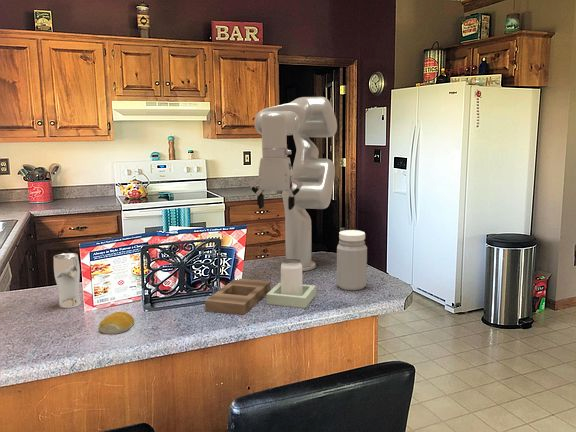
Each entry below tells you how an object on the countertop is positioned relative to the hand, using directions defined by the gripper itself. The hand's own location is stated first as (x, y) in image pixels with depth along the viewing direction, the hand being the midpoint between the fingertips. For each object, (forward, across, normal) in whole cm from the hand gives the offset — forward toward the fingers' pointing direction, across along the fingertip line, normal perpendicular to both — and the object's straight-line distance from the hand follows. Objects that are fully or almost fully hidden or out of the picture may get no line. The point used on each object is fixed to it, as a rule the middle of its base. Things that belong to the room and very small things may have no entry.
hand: (276, 208), depth 161 cm
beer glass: (+25, +56, +30) cm, 68 cm away
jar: (+27, -23, -7) cm, 36 cm away
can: (+26, -7, +10) cm, 29 cm away
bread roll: (+25, +32, +42) cm, 58 cm away
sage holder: (+26, -7, +10) cm, 29 cm away
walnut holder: (+26, +8, +14) cm, 30 cm away
